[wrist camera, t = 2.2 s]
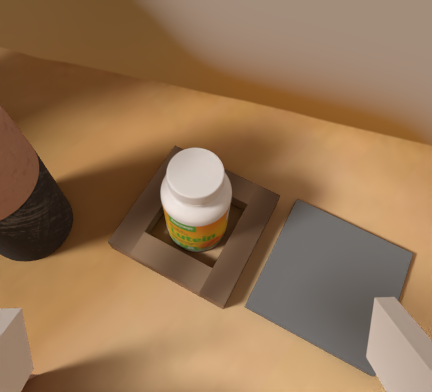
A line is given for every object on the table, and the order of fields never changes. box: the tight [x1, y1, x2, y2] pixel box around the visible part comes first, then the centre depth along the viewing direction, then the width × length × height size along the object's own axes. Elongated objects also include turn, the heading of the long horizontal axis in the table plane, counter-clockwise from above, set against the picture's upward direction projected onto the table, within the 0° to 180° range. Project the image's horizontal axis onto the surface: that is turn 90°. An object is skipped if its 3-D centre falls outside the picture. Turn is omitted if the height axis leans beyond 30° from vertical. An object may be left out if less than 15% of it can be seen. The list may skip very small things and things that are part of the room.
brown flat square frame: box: [108, 146, 280, 309], centre depth 34 cm, size 11×11×2 cm
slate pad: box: [245, 199, 413, 376], centre depth 32 cm, size 11×11×1 cm
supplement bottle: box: [160, 148, 232, 252], centre depth 30 cm, size 5×5×10 cm
